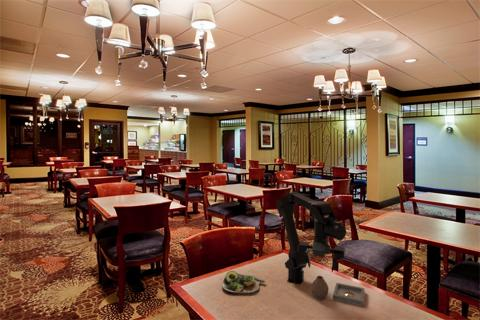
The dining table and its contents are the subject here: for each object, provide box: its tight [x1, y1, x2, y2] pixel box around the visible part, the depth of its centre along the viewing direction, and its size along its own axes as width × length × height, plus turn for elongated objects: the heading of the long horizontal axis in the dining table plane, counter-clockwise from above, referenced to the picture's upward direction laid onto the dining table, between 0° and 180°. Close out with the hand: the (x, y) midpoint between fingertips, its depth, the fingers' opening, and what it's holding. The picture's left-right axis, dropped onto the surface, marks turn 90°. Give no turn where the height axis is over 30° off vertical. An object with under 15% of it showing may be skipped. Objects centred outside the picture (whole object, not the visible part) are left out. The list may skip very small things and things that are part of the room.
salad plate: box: [221, 270, 266, 295], centre depth 130 cm, size 19×18×5 cm
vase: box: [310, 275, 329, 301], centre depth 119 cm, size 7×7×9 cm
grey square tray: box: [331, 282, 366, 308], centre depth 120 cm, size 12×12×2 cm
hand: (320, 269), depth 119 cm, fingers open, 9 cm apart
